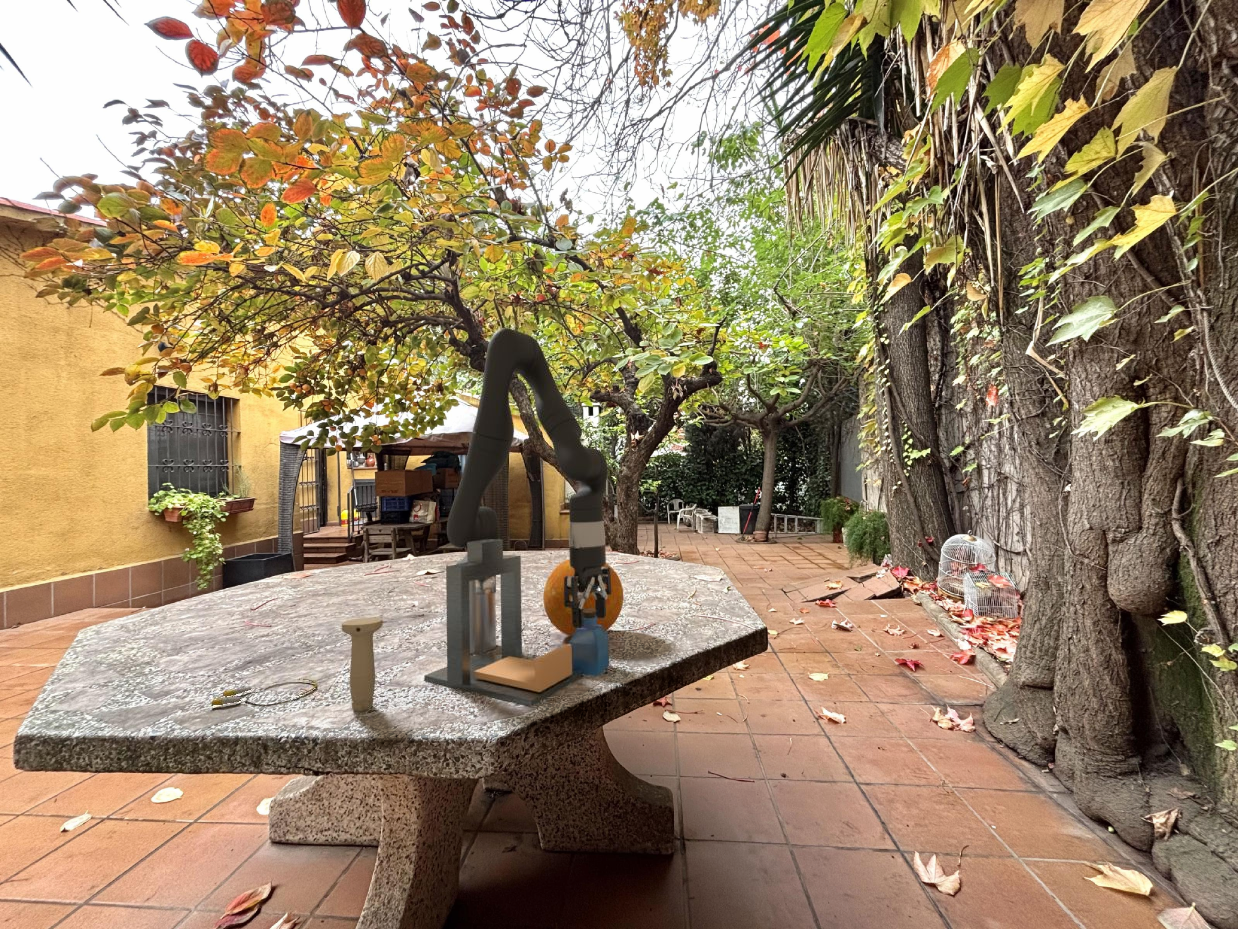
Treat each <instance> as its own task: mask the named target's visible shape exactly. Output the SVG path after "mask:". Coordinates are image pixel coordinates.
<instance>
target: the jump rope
mask: <svg viewBox="0 0 1238 929" xmlns="http://www.w3.org/2000/svg"><path fill="white" fill-rule="evenodd" d="M298 679H299V680H300V679H301V678H298ZM302 679H303V680H309V681H308V682H310V681H312V682H311V683H315V686H314V685H313V687H312V688H311V689H308V690H307V691H304V692H302V693H300V694H298V695H296V696H299V695H303V694H305V693H307V692H309V691H311V690H313V689H314V688H316V686H317V687H318V684H317V682H316V681H315V680H313V679H310V678H309V679H308V678H302ZM286 680H287V679H285V680H284V681H286ZM277 682H278V681H275V682H274V683H277ZM251 689H252V688H251V686H246V687H240V688H239V687H237V688H233V689H231V690H224V691H223V692H222V698H217V699H212V700H211V703H210V704H211V705H210V706H213V705H223V704H227V703H234V702H239V701H241V700H242V696H237V697H233V696H232V697H227V696H231V695H236V694H238V693H242V692H245V691H248V690H251ZM316 689H317V688H316ZM251 691H252V690H251ZM223 696H225V698H223ZM291 697H292V696H290V697H289V698H291ZM299 697H300V696H299ZM240 699H241V700H240Z"/></svg>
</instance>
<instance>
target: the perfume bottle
mask: <svg viewBox="0 0 1238 929" xmlns="http://www.w3.org/2000/svg"><path fill="white" fill-rule="evenodd" d="M583 619H584V626H583V627H582V628H577V629H576V630H575V632H574V634H573V636H572V637H571V638H570V640H569V643H568V644H572V669H574V670H579V671H583V676H592V677H593V676H594V677H599V676H601V674H602V673H603V672H604V671H605V670H606V669H608V668H609V667H610V648H609V646H610V645H609V643H610V642H609V641H610V640H609V634H608V633H607V630H606V631H605V630H604V628H603V627H602V625H596V622H597V616H596V610H595V609H584V610H583Z"/></svg>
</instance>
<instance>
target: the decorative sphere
mask: <svg viewBox="0 0 1238 929" xmlns="http://www.w3.org/2000/svg"><path fill="white" fill-rule="evenodd" d="M603 567H609V568H610V574H611V589H612V593H611V595H608V596H607V599H606V617H604V618H597V622H596V625H602V627H603V628H604V630H605V631H606V632H607V631H608V630H609V629H610V628H611V627H612V626H613V625H614V624H615V623H616V622H617V620H618V618H619V616H620V614H621V612H622V609H623V606H624V589H623V585H622V582H621V580H620V577H619V575H618V574H617V572H616V570H614V569H613V567H612V566H611V565H609V564H608V563H607V562H606V564H605V566H603ZM574 572H575V570H574V568H572V567H571V566H570V558H568V559H566V560H564V561H562V562H561V563H559V564H558V565H557V566H556V567H555V568H554V569H553V570H552V572H551V573H550V574H549V576H548V578H547V580H546V582H545V584H544V585H545V586H544V590H543V597H542V600H543V606H544V607H543V608H544V610H545V613H546V616H547V617H548V620H549V621H550V623H551V624H552V626H554V627H555V628H556V629H557V630H558V631H560V632H561V633H562V634H565V635H566V636H569V637H571V638H572V636H573V634H574V632H575V630H576V629H577V628H575V627H573V624H572V609H571V608H569V607H565V606H564V578H565V576H574ZM604 585H605V587H606V589H607V585H606V584H604ZM578 592H579V590H578ZM579 593H580V592H579ZM571 599H572V595H570V596H569V601H571ZM579 600H580V598H578V602H579ZM595 600H596V598H595V596H594V594H593V593H591V594H589V596H588V598H587V599H585V601H584V604H583V607H582V609H583V610H584V609H595Z"/></svg>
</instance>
